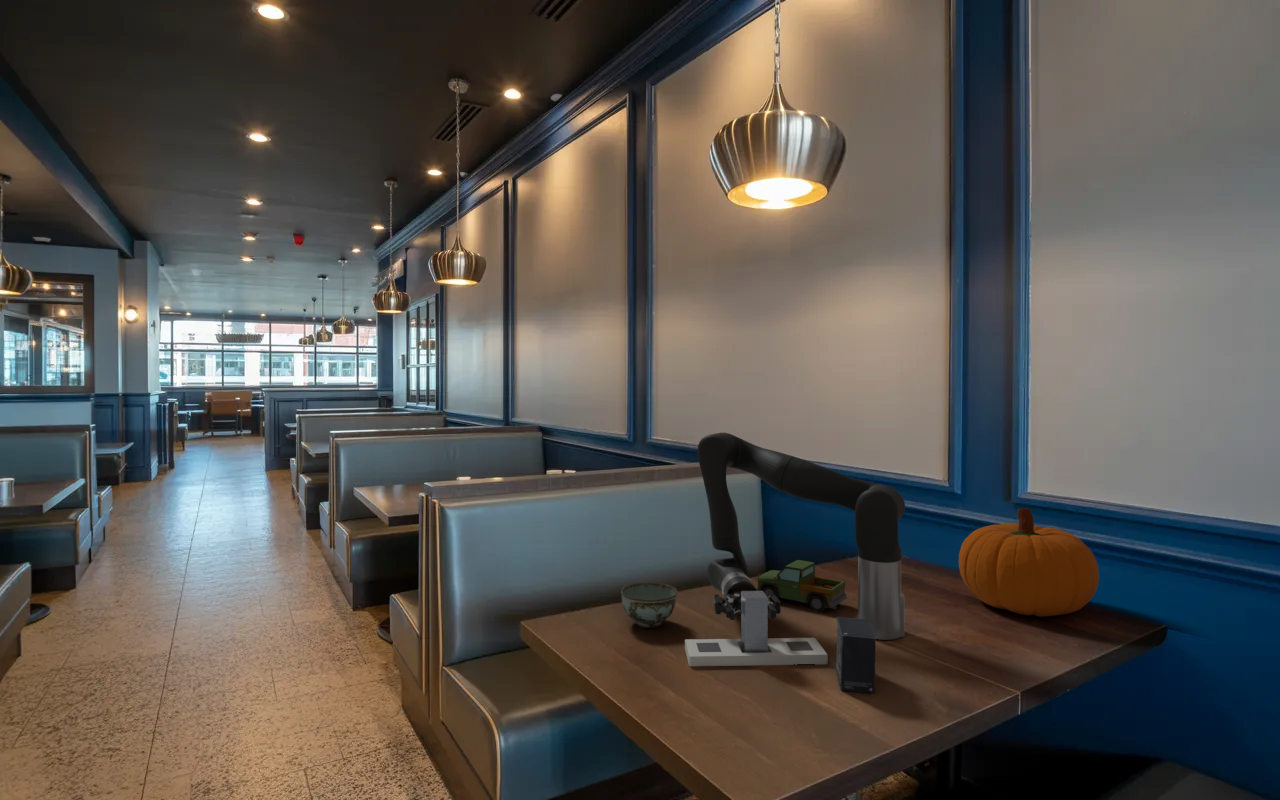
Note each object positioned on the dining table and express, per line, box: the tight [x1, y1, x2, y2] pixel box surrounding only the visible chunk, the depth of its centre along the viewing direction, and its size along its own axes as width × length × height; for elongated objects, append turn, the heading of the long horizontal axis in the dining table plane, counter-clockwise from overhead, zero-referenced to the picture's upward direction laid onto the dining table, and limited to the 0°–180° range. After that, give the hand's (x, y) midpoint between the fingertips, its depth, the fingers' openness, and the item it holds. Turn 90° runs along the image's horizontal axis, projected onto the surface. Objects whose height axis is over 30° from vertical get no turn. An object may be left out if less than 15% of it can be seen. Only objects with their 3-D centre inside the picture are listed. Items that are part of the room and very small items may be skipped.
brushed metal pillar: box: [740, 591, 769, 653], centre depth 140 cm, size 5×5×13 cm
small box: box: [835, 616, 877, 694], centre depth 128 cm, size 11×6×10 cm, turn 168°
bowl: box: [620, 581, 679, 629], centre depth 159 cm, size 14×13×8 cm
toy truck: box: [755, 559, 847, 613], centre depth 175 cm, size 11×21×10 cm, turn 53°
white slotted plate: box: [684, 637, 829, 667], centre depth 140 cm, size 28×9×2 cm, turn 92°
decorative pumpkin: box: [958, 507, 1100, 618], centre depth 171 cm, size 31×30×25 cm
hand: (752, 615), depth 141 cm, fingers open, 8 cm apart
